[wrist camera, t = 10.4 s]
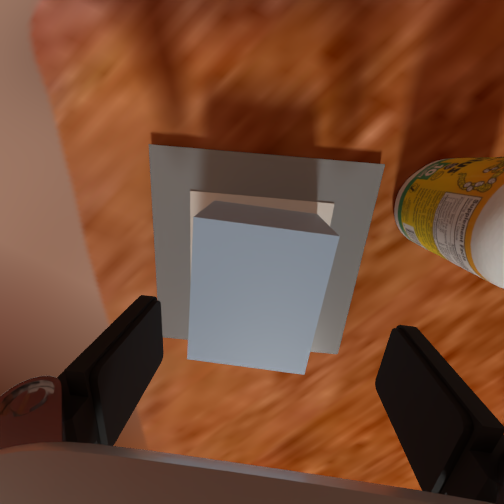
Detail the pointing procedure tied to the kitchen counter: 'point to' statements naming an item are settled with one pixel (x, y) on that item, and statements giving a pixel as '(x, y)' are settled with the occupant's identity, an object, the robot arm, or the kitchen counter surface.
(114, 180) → the kitchen counter surface
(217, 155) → the base plate
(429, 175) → the supplement bottle
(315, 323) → the light blue block
